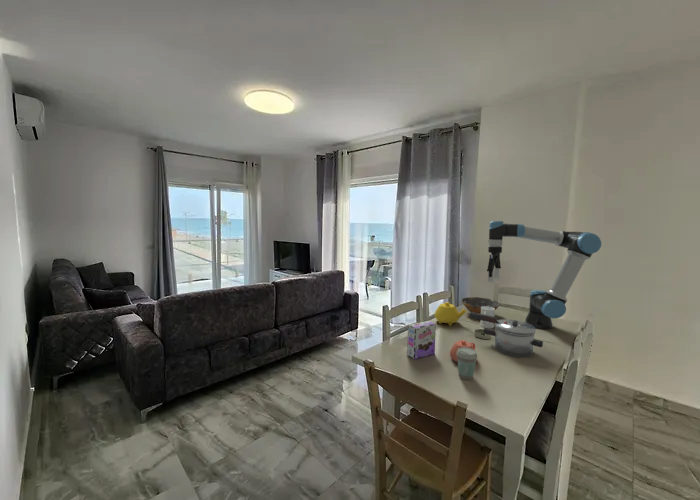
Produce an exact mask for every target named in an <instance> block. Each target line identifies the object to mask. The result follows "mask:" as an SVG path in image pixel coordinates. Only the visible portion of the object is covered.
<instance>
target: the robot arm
mask: <svg viewBox="0 0 700 500" xmlns="http://www.w3.org/2000/svg"><path fill="white" fill-rule="evenodd" d="M488 229H489V230H488V232H489V233H488V241H487V243H488V248H487V251H488V253H490V254H489V258H488V265H487V269H486V272H487V273H488V274H487V282H488V283H494V279H497V280H498V279H499V280H500V269H502V267H501V253H502V252H503V239H504V238H506V237H509V238H511V237H512V238H513V237H515V238H521V239H526V240H532V241H538V242H543V243H549V244H552V245H553V244H554V245H555V246H556V247H562V248H565V249H567V250H566V251H567V257H566V258H565V260H564V262H563V264H562V266H561V268H560V269H559V272H558V273H557V276H556V278H555V279H554V280H553V281H554V282H553V283H552V285H551V287H550V289H548V290H544V289H543V290H542V289H541V290H539V289H534V290H533V289H532V290H531V291H530V294H529V309H528V310H529V311H528V313H527V316H526V318H525V321H524V322H526V323H528V324H531V325H533V326H534V327H535V328H536V329H541V330H549V329H553V321H552V319H558V318H559V319H560V318H561V317H563V316H564V315H565V314H566V312H567V307H566V303H567V301H568V299H567V297H566V296H567V295H568V293H569V291H570V290H571V288H572V286H573V283H574V282H575V280H576V278H577V276H578V274H579V273H580V270H581V269H582V267H583V265H584V263H585V262H586V260H589V259H591V257H592V256H593V254H595V253H598V251H599V250H600V249H601V248H602V241H601V238H600V236H598V235H597V234H596V233H593V232H588V231H565V230H559V231H555V230H554V231H553V230H548V229H543V228H536V227H529V226H525V225H524V224H521V223H504V221H503V220H492V221H490V223H489V227H488ZM503 237H504V238H503Z"/></svg>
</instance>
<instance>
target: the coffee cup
mask: <svg viewBox="0 0 700 500" xmlns="http://www.w3.org/2000/svg"><path fill="white" fill-rule="evenodd" d="M456 354H457V359H458V362H457V369H458V370H457V371H458V377H459V378H461V379H462V380H463V381H464V380H465V381H471V380H473V378H474V372H475V369H476V362H477V359H478V354H477V351H476V349H475V350H473V349H471V348H466V347H462V348H459V349H458V351H457V353H456Z"/></svg>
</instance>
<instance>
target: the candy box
mask: <svg viewBox="0 0 700 500" xmlns="http://www.w3.org/2000/svg"><path fill="white" fill-rule="evenodd" d="M436 328H437V325H436V323H435V322H432V321H430V320H426V321H421V322H416V323H411V324H408V325H407V342H406V343H407V345H406V347H407V348H406V351H407V352H406V355H407V357H409V356H410V357H409V358H411V359H412V358H413V359H412V360H418V359H421V357H422V358H424V356H426V357H429V356H432V354H433V355H435V353H436V350H435V349H436ZM417 358H418V359H417Z"/></svg>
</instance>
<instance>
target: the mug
mask: <svg viewBox="0 0 700 500" xmlns="http://www.w3.org/2000/svg"><path fill="white" fill-rule="evenodd" d="M495 312H496V310H495V308H493V307H488V306H483V307H481V314H484V315H488V316H493V317H495V315H496V314H495ZM479 321H480V323H479V327H482V328H483V329H485V328H488V329H493V328H495V323H491V322H487V321H482V320H479Z"/></svg>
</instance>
